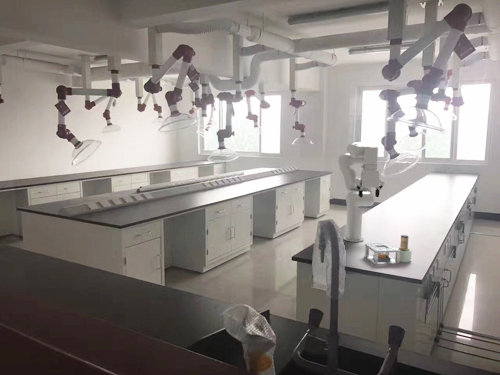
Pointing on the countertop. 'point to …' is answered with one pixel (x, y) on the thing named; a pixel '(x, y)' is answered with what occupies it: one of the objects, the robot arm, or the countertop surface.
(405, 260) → the holder
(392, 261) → the breaker guard
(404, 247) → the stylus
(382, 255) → the breaker plunger
